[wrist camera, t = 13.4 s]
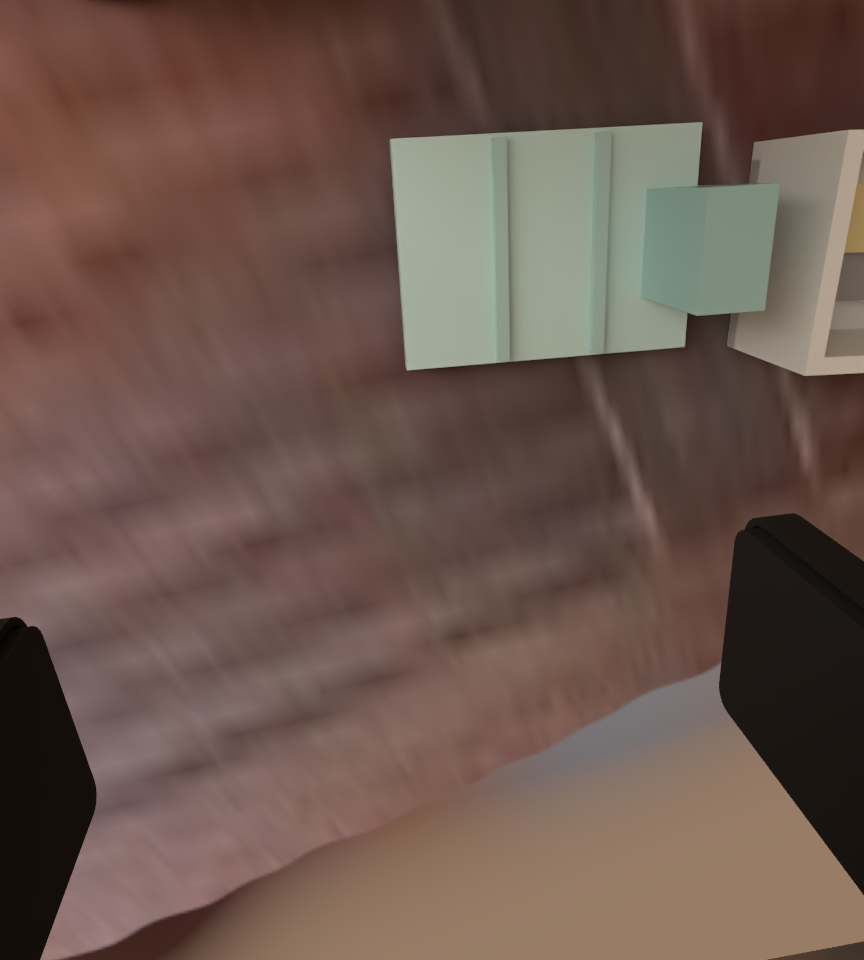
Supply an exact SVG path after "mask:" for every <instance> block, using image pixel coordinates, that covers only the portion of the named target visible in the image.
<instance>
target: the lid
mask: <svg viewBox="0 0 864 960" xmlns="http://www.w3.org/2000/svg"><path fill="white" fill-rule="evenodd" d="M701 135H702V122H696V123H677V124H658V125H640V126H621V127H602V128H584V129H565V130H546V131H528V132H509V133H491V134H472V135H453V136H435V137H416V138H397V139H390V154H391V168H392V183H393V197H394V211H395V225H396V239H397V253H398V267H399V281H400V295H401V309H402V323H403V337H404V351H405V365H406V369H407V370H417V369H429V368H441V367H453V366H465V365H477V364H489V363H501V362H512V361H524V360H536V359H548V358H560V357H572V356H584V355H596V354H608V353H619V352H631V351H643V350H655V349H667V348H679V347H685V338H686V325H687V313H690V314H693V315H696V316H702V315H715V314H727V313H740V312H752V311H765V305H766V296H767V288H768V280H769V271H770V263H771V254H772V246H773V238H774V229H775V221H776V212H777V204H778V196H779V187H780V183H758V184H722V185H698V173H699V160H700V147H701ZM697 185H698V186H697Z"/></svg>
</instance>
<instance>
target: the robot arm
mask: <svg viewBox="0 0 864 960" xmlns="http://www.w3.org/2000/svg"><path fill="white" fill-rule="evenodd" d="M719 690H720V696H721V699H722V703H723V705H724V707H725V709H726V710H727V712H728V714H729V715H730V716H731V718H732V719H733V720H734V722H735V723H736V724H737V726H738V727H739V728H740V730H741V731H742V732H743V734H744V735H745V736H746V738H747V739H748V740H749V742H750V743H751V744H752V746H753V747H754V749H755V750H756V751H757V753H758V754H759V755H760V757H761V758H762V759H763V760H764V762H765V763H766V764H767V766H768V767H769V769H770V770H771V771H772V773H773V774H774V775H775V777H776V778H777V779H778V780H779V782H780V783H781V785H782V786H783V787H784V789H785V790H786V791H787V793H788V794H789V795H790V797H791V798H792V799H793V801H794V802H795V803H796V805H797V806H798V807H799V809H800V810H801V811H802V813H803V814H804V815H805V817H806V818H807V820H808V821H809V822H810V824H811V825H812V826H813V828H814V829H815V830H816V831H817V833H818V834H819V836H820V837H821V838H822V839H823V841H824V842H825V844H826V845H827V846H828V848H829V849H830V850H831V852H832V853H833V854H834V856H835V857H836V858H837V860H838V861H839V862H840V864H841V865H842V866H843V868H844V869H845V870H846V872H847V873H848V874H849V876H850V877H851V878H852V880H853V881H854V883H855V884H856V885H857V886H858V888H859V889H860V890H861V892H862V893H863V895H864V561H862V560H861V559H859V558H858V557H857V556H855V555H854V554H852V553H851V552H850V551H848V550H847V549H845V548H844V547H843V546H841V545H840V544H838V543H837V542H836V541H834V540H833V539H832V538H830V537H829V536H827V535H826V534H825V533H823V532H822V531H820V530H819V529H818V528H816V527H815V526H813V525H812V524H811V523H809V522H808V521H806V520H805V519H804V518H802V517H801V516H799V515H797V514H795V513H794V514H783V515H775V516H768V517H760V518H753V519H752V520H750V521H749V522H748V524H747V526H746V528H745V530H741V531H740V532H738V534H737V535H736V538H735V543H734V552H733V561H732V571H731V580H730V589H729V598H728V607H727V617H726V626H725V635H724V644H723V653H722V663H721V672H720V681H719ZM95 806H96V785H95V781H94V778H93V775H92V772H91V770H90V767H89V764H88V761H87V758H86V756H85V753H84V750H83V747H82V744H81V742H80V739H79V736H78V733H77V730H76V727H75V725H74V722H73V719H72V716H71V713H70V711H69V708H68V705H67V702H66V699H65V697H64V694H63V691H62V688H61V685H60V683H59V680H58V677H57V674H56V671H55V668H54V666H53V663H52V660H51V657H50V654H49V652H48V649H47V646H46V643H45V640H44V638H43V635H42V633H41V631H40V630H39V629H38V628H37V627H35V626H31V627H27V625H26V624H25V623H24V622H23V620H22V619H20V618H17V617H13V618H5V619H0V960H40V958H41V956H42V953H43V950H44V947H45V945H46V942H47V939H48V937H49V934H50V931H51V928H52V926H53V923H54V920H55V918H56V915H57V912H58V909H59V907H60V904H61V901H62V898H63V896H64V893H65V890H66V888H67V885H68V882H69V879H70V877H71V874H72V871H73V869H74V866H75V863H76V860H77V858H78V855H79V852H80V850H81V847H82V844H83V841H84V839H85V836H86V833H87V831H88V828H89V825H90V822H91V820H92V817H93V814H94V811H95ZM769 960H864V942H859V943H853V944H848V945H843V946H838V947H832V948H827V949H822V950H816V951H811V952H806V953H801V954H795V955H790V956H784V957H780V958H774V959H769Z"/></svg>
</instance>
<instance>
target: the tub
mask: <svg viewBox="0 0 864 960" xmlns="http://www.w3.org/2000/svg"><path fill="white" fill-rule="evenodd" d="M758 183H780V187H779V196H778V204H777V212H776V221H775V229H774V238H773V246H772V254H771V263H770V271H769V280H768V288H767V296H766V305H765V311H752V312H740V313H731V316H730V323H729V331H728V338H727V345H726V346H728V347H731V348H733V349H736V350H738V351H741V352H744V353H746V354H749V355H751V356H754V357H757V358H759V359H762V360H764V361H767V362H770V363H772V364H775V365H777V366H780V367H783V368H785V369H788V370H790V371H793V372H796V373H798V374H801V375H804V376H812V375H832V374H852V373H864V130H844V131H836V132H828V133H821V134H813V135H806V136H798V137H790V138H783V139H775V140H767V141H760V142H754V146H753V154H752V161H751V168H750V176H749V183H748V184H758Z"/></svg>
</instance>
